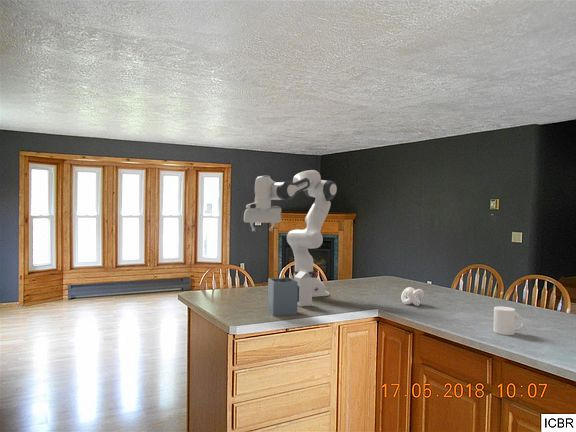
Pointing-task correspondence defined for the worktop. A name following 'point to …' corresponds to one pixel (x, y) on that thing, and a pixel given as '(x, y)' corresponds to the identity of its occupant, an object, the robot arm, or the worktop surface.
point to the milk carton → (304, 288)
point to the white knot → (412, 296)
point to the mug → (506, 320)
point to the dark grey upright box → (283, 296)
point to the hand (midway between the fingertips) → (262, 231)
